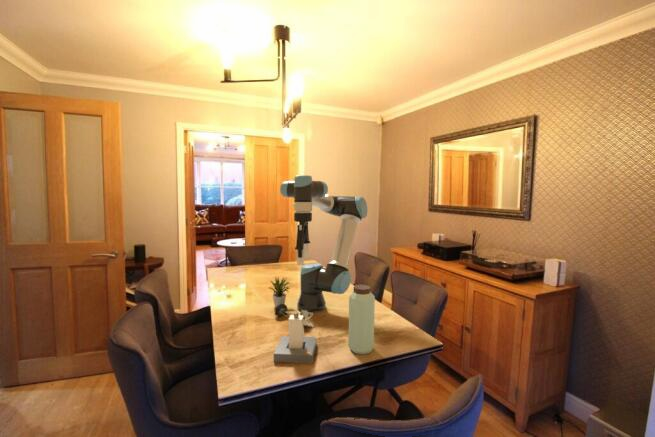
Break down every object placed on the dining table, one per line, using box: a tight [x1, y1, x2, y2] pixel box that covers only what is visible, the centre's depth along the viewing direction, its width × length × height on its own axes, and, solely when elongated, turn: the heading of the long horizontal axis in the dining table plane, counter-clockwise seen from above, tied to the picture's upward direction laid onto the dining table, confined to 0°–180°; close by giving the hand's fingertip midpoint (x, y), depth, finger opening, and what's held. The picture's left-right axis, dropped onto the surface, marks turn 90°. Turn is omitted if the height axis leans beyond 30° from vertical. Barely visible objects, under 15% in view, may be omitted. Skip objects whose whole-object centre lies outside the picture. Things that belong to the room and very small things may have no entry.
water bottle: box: [348, 284, 376, 355], centre depth 122 cm, size 10×10×25 cm
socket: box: [273, 335, 317, 364], centre depth 120 cm, size 14×14×3 cm
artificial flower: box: [274, 303, 315, 328], centre depth 148 cm, size 9×22×10 cm, turn 44°
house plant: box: [267, 276, 293, 308], centre depth 166 cm, size 14×14×16 cm
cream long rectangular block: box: [288, 311, 304, 349], centre depth 120 cm, size 4×5×16 cm
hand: (302, 261), depth 134 cm, fingers open, 13 cm apart
